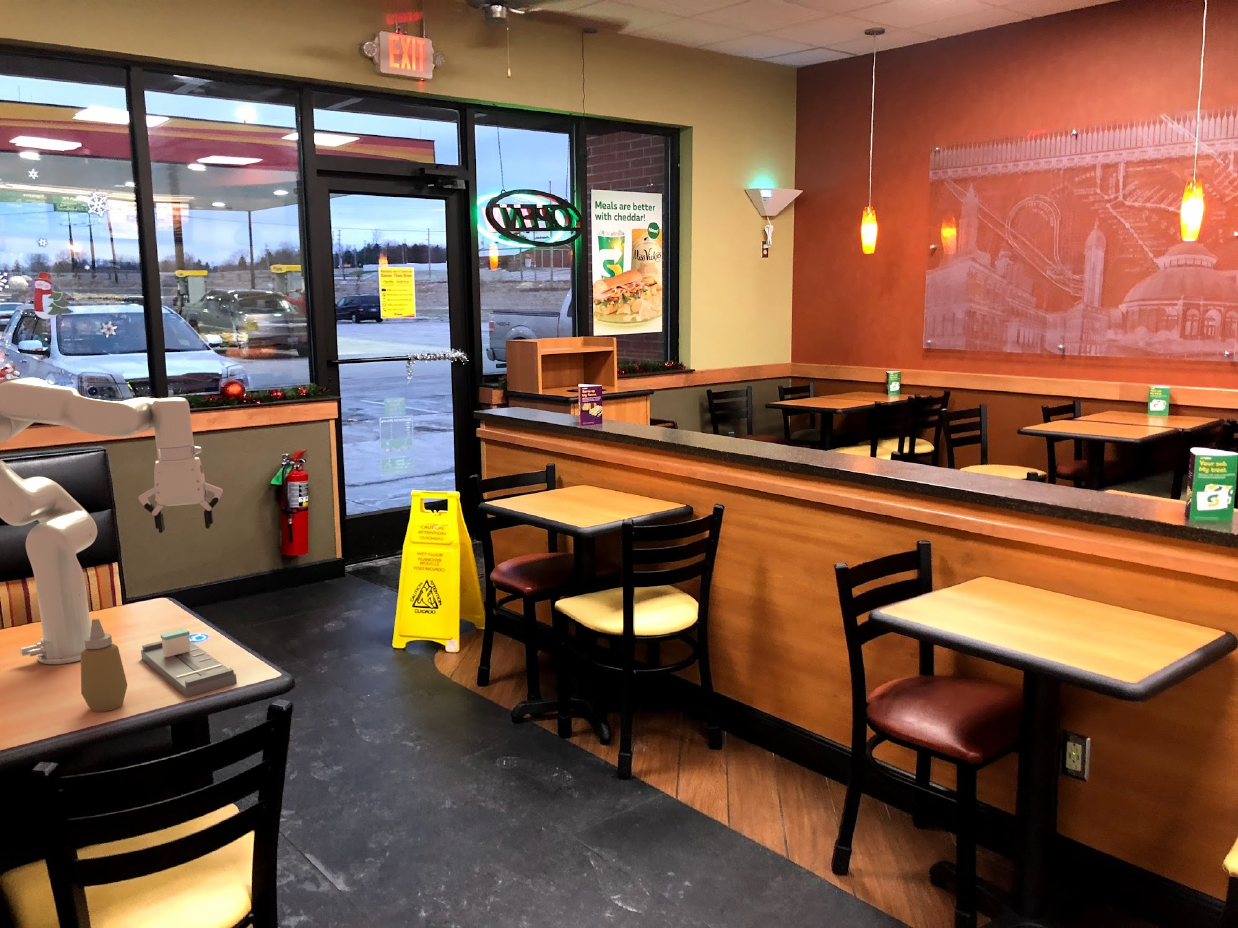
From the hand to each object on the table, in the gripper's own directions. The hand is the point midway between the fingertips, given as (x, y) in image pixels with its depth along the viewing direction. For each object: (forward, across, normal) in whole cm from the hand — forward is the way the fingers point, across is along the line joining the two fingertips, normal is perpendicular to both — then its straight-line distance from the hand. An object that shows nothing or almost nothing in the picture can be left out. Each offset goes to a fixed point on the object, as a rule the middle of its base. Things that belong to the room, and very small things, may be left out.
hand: (185, 529), depth 218 cm
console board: (+28, +1, +13) cm, 31 cm away
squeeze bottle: (+28, +13, +28) cm, 42 cm away
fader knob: (+26, +3, +8) cm, 27 cm away
